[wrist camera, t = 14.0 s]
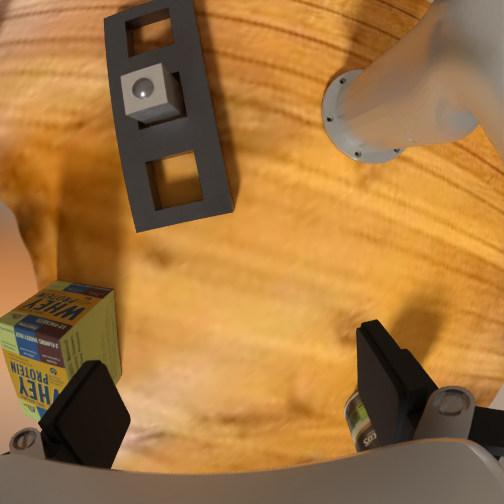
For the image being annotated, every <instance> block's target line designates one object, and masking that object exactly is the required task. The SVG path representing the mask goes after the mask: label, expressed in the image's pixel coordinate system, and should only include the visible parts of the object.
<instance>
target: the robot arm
mask: <svg viewBox="0 0 504 504" xmlns="http://www.w3.org/2000/svg"><path fill="white" fill-rule="evenodd" d="M340 81H342V82H343V84H341V83H340ZM321 115H322V121H323V125H324V128H325V131H326V133H327V135H328V137H329V138H330V140H331V141H332V143H333V144H334V145H335V146H336V148H337V149H339V150H340V151H341V152H342V153H343V154H344V155H346V156H348V157H349V158H351V159H353V160H356V161H358V162H362V163H367V164H379V163H385V162H388V161H391V160H393V159H394V158H396V157H398V156H399V155H400V154H401V153H402V152H403V151H404V150H405V148H408V147H417V146H426V145H435V144H443V143H451V142H455V141H458V140H461V139H463V138H465V137H466V136H468V135H469V134H470V133H471V132H472V131H474V129H475V128H476V127H477V126H478V125H479V124H480V126H481V127H482V129H483V130H484V132H485V134H486V135H487V137H488V139H489V140H490V142H491V143H492V144H493V146H494V147H495V149H496V151H497V153H498V155H499V157H500V158H501V160H502V162H503V164H504V0H434V1H433V3H432V4H431V6H430V7H429V9H428V10H427V11H426V13H425V14H424V16H423V17H422V18H421V20H420V21H419V22H418V23H417V24H416V25H415V26H414V27H413V28H412V29H411V30H410V31H409V32H408V33H407V34H406V35H405V36H404V37H403V38H402V39H401V40H399V41H398V42H397V43H396V44H395V45H393V46H392V47H391V48H390V49H389V50H387V51H386V52H385V53H384V54H383V55H381V56H380V57H379V58H378V59H377V60H375V61H374V62H373V63H372V64H371V65H370V66H368V67H367V68H366V69H357V70H351V71H348V72H346V73H343V74H342V75H340V76H339V77H337V78H336V79H335V80H334V81H333V82H332V83H331V84H330V85H329V87H328V88H327V90H326V92H325V94H324V96H323V101H322V105H321ZM327 118H329V119H330V122H328V121H327ZM394 149H395V151H394ZM356 152H357V153H358V155H357V156H355V153H356ZM356 337H357V370H358V393H359V396H360V399H361V401H362V403H363V405H364V408H365V410H366V412H367V414H368V417H369V419H370V421H371V424H372V426H373V428H374V431H375V433H376V435H377V438H378V440H379V442H380V445H381V447H379V448H375V449H371V450H367V451H362V452H358V453H353V454H349V455H344V456H340V457H335V458H330V459H325V460H320V461H314V462H308V463H302V464H296V465H290V466H283V467H275V468H267V469H258V470H247V471H234V472H216V473H157V472H139V471H126V470H116V469H111V467H112V464H113V462H114V460H115V457H116V455H117V452H118V450H119V448H120V445H121V443H122V441H123V438H124V436H125V434H126V432H127V429H128V427H129V425H130V421H131V419H130V415H129V413H128V411H127V409H126V407H125V405H124V403H123V401H122V399H121V397H120V395H119V393H118V390H117V388H116V386H115V384H114V382H113V380H112V378H111V375H110V373H109V371H108V369H107V366H106V365H105V364H104V363H102V362H101V361H100V360H87V361H85V362H84V363H83V365H82V366H81V367H80V368H79V370H78V371H77V372H76V373H75V375H74V376H73V377H72V379H71V380H70V381H69V382H68V384H67V385H66V386H65V388H64V389H63V390H62V391H61V393H60V394H59V395H58V397H57V398H56V399H55V401H54V402H53V403H52V405H51V406H50V407H49V409H48V410H47V411H46V413H45V414H44V415H43V417H42V418H41V419H40V421H39V422H38V424H39V425H40V427H41V429H42V431H41V433H40V432H39V431H38V430H37V429H35V428H25V429H22V430H20V431H18V432H17V433H16V434H14V436H13V437H12V438H11V440H10V444H9V448H10V451H9V452H7V453H5V454H2V455H0V504H504V411H502V410H496V409H490V408H484V407H477V406H475V398H474V396H473V394H472V393H471V392H470V391H469V390H467V389H465V388H463V387H459V386H446V387H442V388H440V389H439V388H438V387H437V386H436V384H435V383H434V382H433V381H432V379H431V378H430V377H429V375H428V374H427V373H426V372H425V370H424V369H423V368H422V366H421V365H420V364H419V363H418V361H417V360H416V359H415V358H414V356H413V355H412V354H411V353H410V351H409V350H407V349H400V347H399V346H398V345H397V343H396V342H395V341H394V340H393V338H392V337H391V336H390V334H389V333H388V332H387V331H386V329H385V328H384V327H383V326H382V324H381V323H380V322H379V321H378V320H377V319H376V320H372V321H368V322H363V323H362V324H361V327H360V328H357V330H356Z"/></svg>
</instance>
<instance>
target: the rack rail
mask: <svg viewBox="0 0 504 504" xmlns="http://www.w3.org/2000/svg"><path fill="white" fill-rule="evenodd" d="M168 18H170V19H171V25H172V31H173V38H174V44H172V45H168V46H165V47H161V48H158V49H155V50H151V51H148V52H145V53H142V54H139V55H136V56H135V50H134V41H133V32H132V30H133V29H136V28H139V27H142V26H145V25H148V24H152V23H155V22H158V21H161V20H165V19H168ZM104 33H105V47H106V59H107V69H108V78H109V87H110V95H111V103H112V110H113V117H114V123H115V130H116V136H117V142H118V148H119V153H120V159H121V164H122V169H123V174H124V179H125V184H126V189H127V194H128V198H129V203H130V207H131V212H132V216H133V220H134V224H135V229H136V233H138V232H143V231H147V230H151V229H156V228H160V227H165V226H169V225H174V224H179V223H183V222H188V221H193V220H197V219H202V218H207V217H212V216H217V215H222V214H227V213H232V212H233V211H234V204H233V199H232V194H231V189H230V184H229V179H228V174H227V169H226V165H225V160H224V155H223V150H222V145H221V139H220V134H219V129H218V124H217V119H216V114H215V109H214V104H213V99H212V94H211V89H210V84H209V78H208V73H207V68H206V63H205V58H204V53H203V47H202V42H201V37H200V32H199V26H198V21H197V16H196V11H195V5H194V0H154V1H151V2H148V3H145V4H142V5H139V6H136V7H133V8H130V9H127V10H125V11H122V12H119V13H117V14H114V15H111V16H109V17H107V18H104ZM160 63H162V64H163V66H164V67H165V68H166V69H167V70H168V71H169V72H170V74H171V75H172V76H173V77H174V78H175V79H176V80H179V79H181V85H182V91H183V96H184V102H185V107H186V113H187V117H185V118H181V119H177V120H173V121H169V122H166V123H162V124H159V125H155V126H152V127H148V128H146V125H145V123H144V122H141V121H139V120H136V119H134V118H132V117H129V116H127V115H126V113H125V106H124V99H123V92H122V84H121V76H123V75H126V74H129V73H131V72H134V71H137V70H140V69H144V68H147V67H150V66H153V65H156V64H160ZM193 152H194V154H195V159H196V164H197V169H198V174H199V179H200V184H201V189H202V193H203V198H204V199H202V200H198V201H193V202H189V203H184V204H180V205H175V206H171V207H167V208H162V206H161V201H160V197H159V192H158V188H157V183H156V178H155V173H154V168H153V162H157V161H161V160H165V159H169V158H173V157H177V156H181V155H185V154H189V153H193Z"/></svg>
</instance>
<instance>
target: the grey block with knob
mask: <svg viewBox="0 0 504 504" xmlns="http://www.w3.org/2000/svg"><path fill="white" fill-rule="evenodd" d="M121 84H122V92H123V99H124V106H125V113H126V115H127V116H129V117H132V118H134V119H136V120H139V121H141V122H144V123H146V124H148V125H150V126H155V125H158V124H162V123H166V122H169V121H173V120H177V119H181V118H185V117H186V115H185V109H184V104H183V98H182V92H181V87H180V84H179V83H178V82H177V81H176V79H175V78H174V77H173V76H172V75H171V74H170V72H169V71H168V70H167V69H166V68H165V67H164V66H163V64H162V63H160V64H156V65H153V66H150V67H147V68H144V69H140V70H137V71H134V72H131V73H129V74H126V75H123V76H121Z"/></svg>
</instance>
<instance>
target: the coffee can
mask: <svg viewBox="0 0 504 504" xmlns="http://www.w3.org/2000/svg"><path fill="white" fill-rule="evenodd" d="M344 415H345V418H346V420H347V423H348V426H349V429H350V432H351V435H352V438H353V441H354V444H355V447H356V450H357V453H358V452H362V451H367V450H371V449H375V448H379V447H381V445H380V442H379V440H378V438H377V435H376V433H375V431H374V428H373V426H372V424H371V421H370V419H369V417H368V414H367V412H366V410H365V408H364V405H363V403H362V401H361V399H360V396H359V393H358V391H357V392H356V393H354V394H353V395H352V396H351V397H350V399H349V400H348V402H347V403H346V405H345V409H344Z"/></svg>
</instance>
